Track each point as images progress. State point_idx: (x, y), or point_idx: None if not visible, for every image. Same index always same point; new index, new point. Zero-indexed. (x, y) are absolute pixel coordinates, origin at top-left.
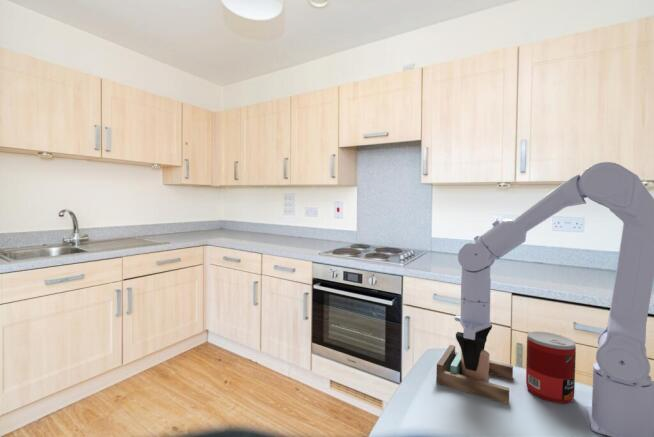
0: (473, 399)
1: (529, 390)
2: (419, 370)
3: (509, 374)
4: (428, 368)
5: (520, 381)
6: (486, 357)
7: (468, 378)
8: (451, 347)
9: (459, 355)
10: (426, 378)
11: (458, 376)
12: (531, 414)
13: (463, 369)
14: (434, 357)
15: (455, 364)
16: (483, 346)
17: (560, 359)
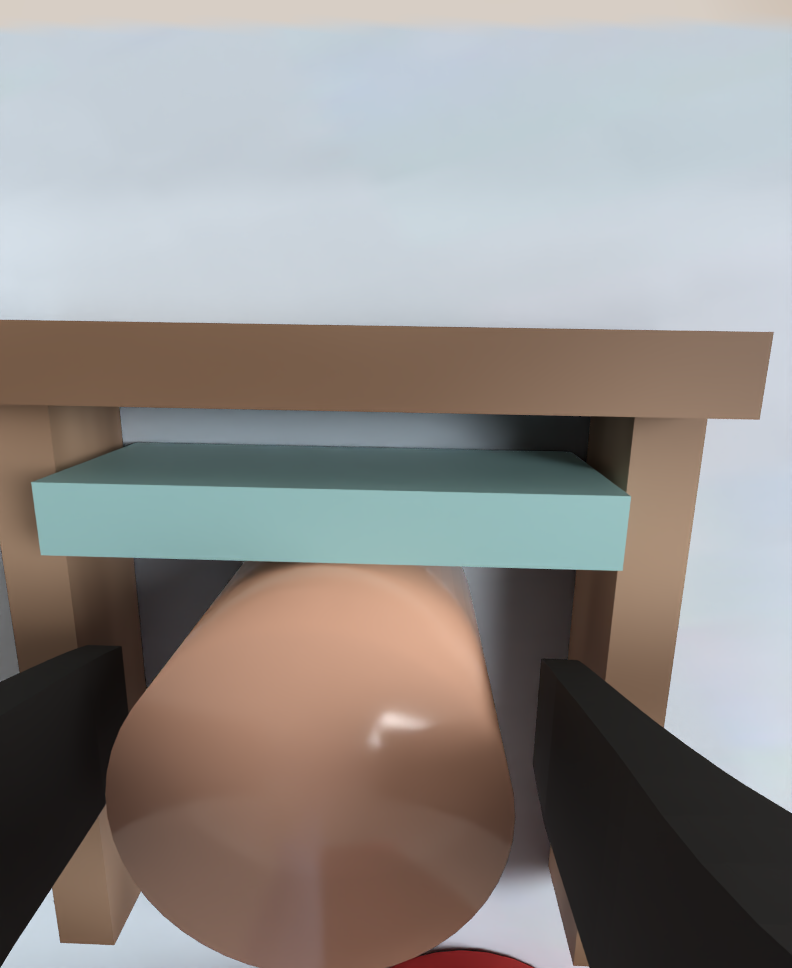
0: (9, 645)
1: (404, 963)
2: (212, 73)
3: (559, 877)
4: (328, 157)
5: (544, 911)
6: (212, 947)
7: (48, 650)
8: (650, 379)
9: (423, 530)
10: (83, 206)
11: (16, 561)
12: (85, 953)
13: (232, 578)
14: (685, 136)
15: (98, 531)
16: (577, 917)
17: None
